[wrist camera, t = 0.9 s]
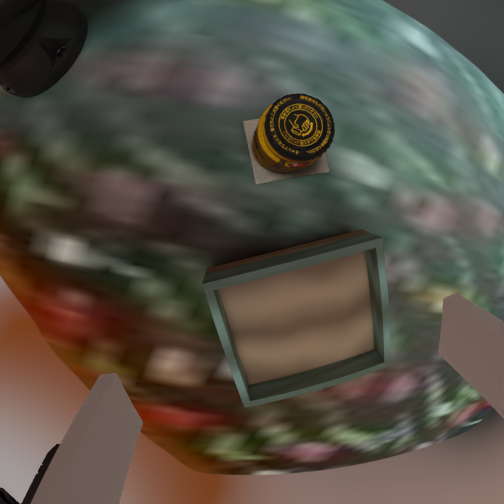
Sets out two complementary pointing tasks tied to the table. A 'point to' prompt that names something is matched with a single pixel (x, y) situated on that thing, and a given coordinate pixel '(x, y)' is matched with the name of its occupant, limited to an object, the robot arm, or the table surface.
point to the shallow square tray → (302, 316)
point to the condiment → (290, 139)
